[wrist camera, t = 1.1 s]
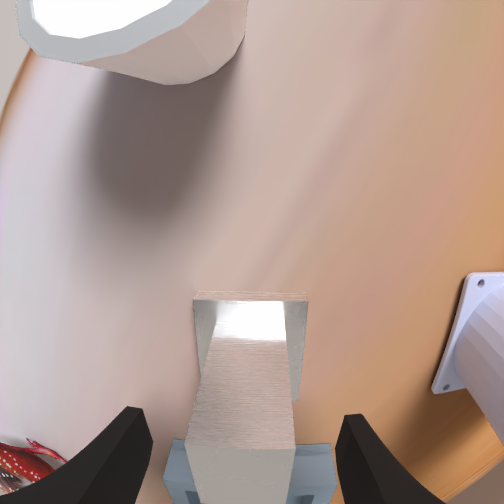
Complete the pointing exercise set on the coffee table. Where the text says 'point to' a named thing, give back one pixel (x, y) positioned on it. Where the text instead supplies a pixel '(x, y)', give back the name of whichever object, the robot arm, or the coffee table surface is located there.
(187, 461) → the slate well
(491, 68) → the coffee table surface
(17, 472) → the decorative bird figurine
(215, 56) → the off-white tapered cylinder
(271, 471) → the grey t-shaped bar
